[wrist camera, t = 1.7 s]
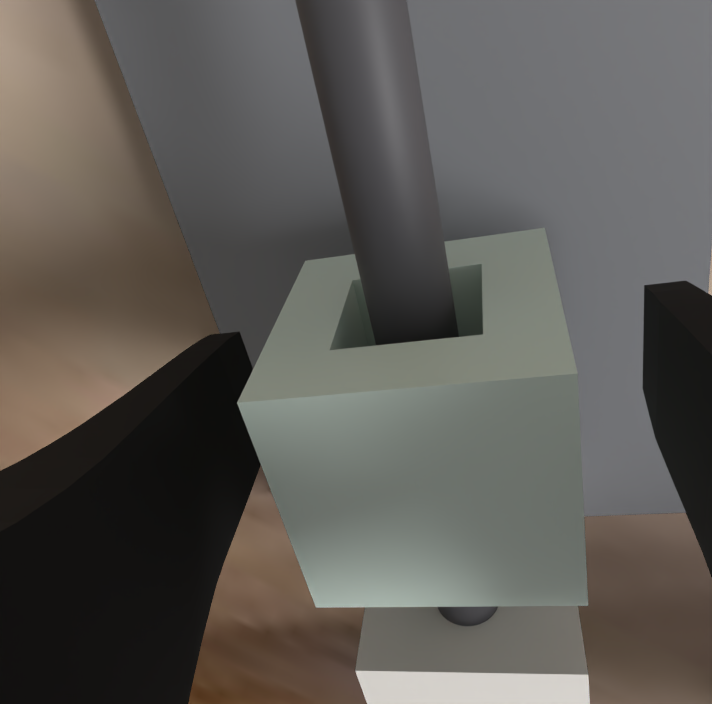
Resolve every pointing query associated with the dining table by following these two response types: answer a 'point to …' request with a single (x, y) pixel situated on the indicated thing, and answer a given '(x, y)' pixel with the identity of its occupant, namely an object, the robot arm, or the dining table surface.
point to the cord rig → (445, 220)
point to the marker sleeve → (427, 438)
